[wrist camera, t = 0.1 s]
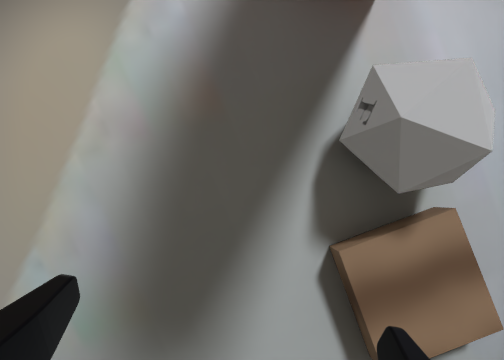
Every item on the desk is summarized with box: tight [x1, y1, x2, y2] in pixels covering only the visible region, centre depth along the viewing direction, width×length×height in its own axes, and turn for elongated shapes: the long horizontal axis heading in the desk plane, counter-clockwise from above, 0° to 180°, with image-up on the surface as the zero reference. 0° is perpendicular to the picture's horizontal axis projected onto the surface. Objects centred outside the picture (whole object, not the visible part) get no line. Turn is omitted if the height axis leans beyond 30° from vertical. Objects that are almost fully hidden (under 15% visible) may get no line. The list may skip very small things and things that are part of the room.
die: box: [339, 58, 495, 194], centre depth 20 cm, size 8×9×10 cm
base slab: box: [329, 207, 503, 360], centre depth 22 cm, size 9×9×2 cm
